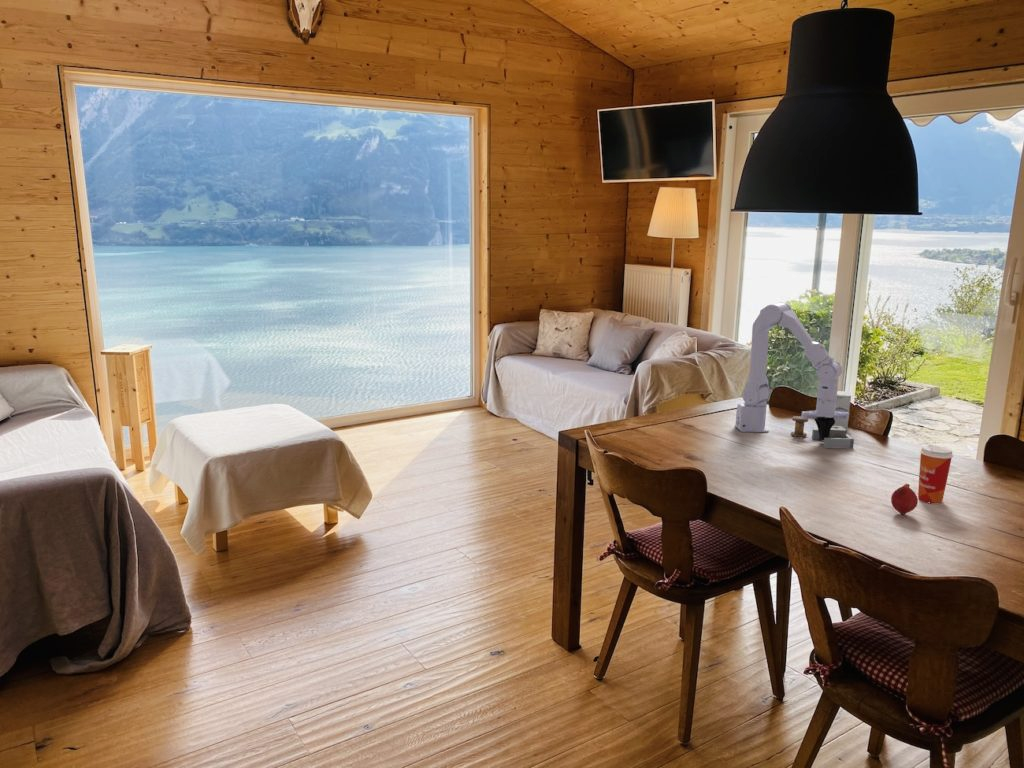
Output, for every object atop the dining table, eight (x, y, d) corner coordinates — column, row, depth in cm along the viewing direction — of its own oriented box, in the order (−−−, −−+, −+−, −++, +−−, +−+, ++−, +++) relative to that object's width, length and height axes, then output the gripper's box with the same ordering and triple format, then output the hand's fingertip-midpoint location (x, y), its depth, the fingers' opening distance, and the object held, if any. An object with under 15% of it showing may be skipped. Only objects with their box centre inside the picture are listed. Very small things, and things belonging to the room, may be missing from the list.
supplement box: (824, 429, 264) (828, 394, 261) (822, 424, 271) (826, 389, 268) (847, 431, 262) (851, 395, 259) (845, 426, 269) (848, 391, 266)
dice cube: (839, 440, 251) (841, 426, 250) (845, 445, 247) (846, 430, 245) (824, 440, 252) (825, 425, 251) (829, 444, 247) (830, 429, 246)
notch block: (824, 447, 244) (825, 438, 243) (811, 437, 255) (812, 429, 254) (853, 448, 244) (854, 439, 243) (839, 438, 254) (840, 429, 254)
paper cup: (908, 494, 204) (914, 443, 201) (937, 494, 204) (944, 444, 201) (922, 505, 197) (929, 453, 193) (953, 505, 196) (960, 453, 193)
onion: (903, 520, 187) (907, 489, 185) (884, 511, 192) (887, 481, 190) (920, 516, 189) (924, 486, 187) (900, 508, 194) (904, 478, 193)
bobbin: (793, 437, 255) (795, 420, 253) (788, 433, 259) (790, 416, 258) (808, 437, 255) (810, 420, 253) (803, 433, 259) (805, 416, 258)
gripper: (808, 401, 242) (804, 443, 245) (854, 402, 242) (850, 443, 245) (800, 396, 249) (796, 436, 252) (845, 397, 249) (841, 437, 252)
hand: (822, 439), depth 249 cm, fingers closed
